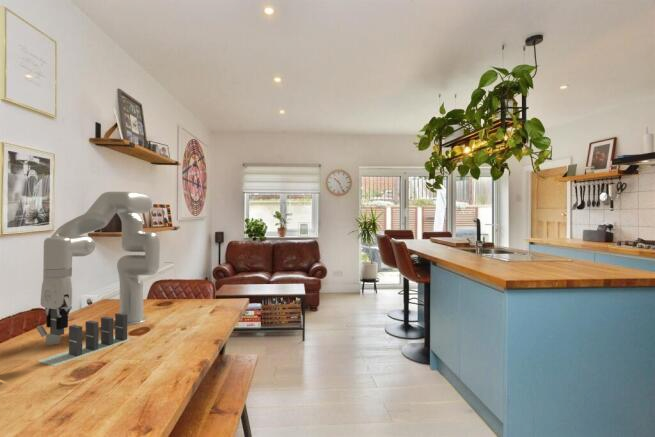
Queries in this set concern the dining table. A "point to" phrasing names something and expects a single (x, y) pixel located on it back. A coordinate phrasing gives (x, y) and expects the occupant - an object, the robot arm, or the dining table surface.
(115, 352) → the dining table surface
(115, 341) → the mat
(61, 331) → the domino
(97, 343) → the domino
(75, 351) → the domino
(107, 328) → the domino
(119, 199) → the robot arm
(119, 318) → the domino
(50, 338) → the lighter
